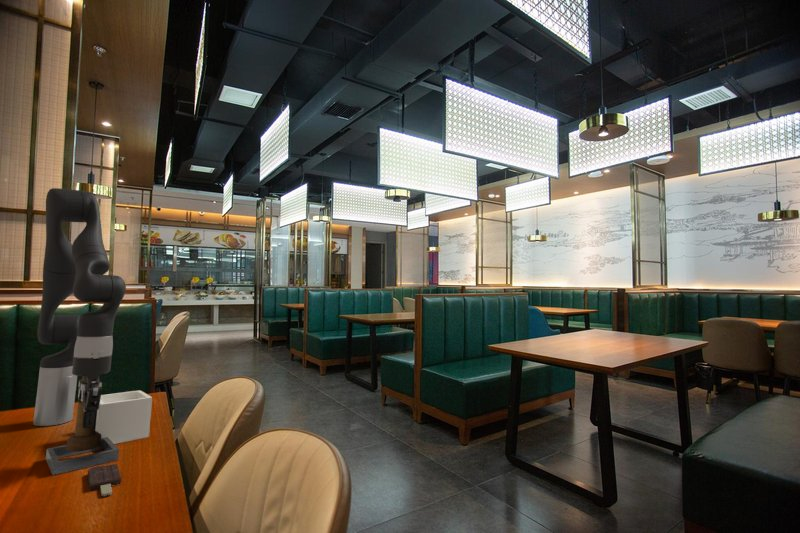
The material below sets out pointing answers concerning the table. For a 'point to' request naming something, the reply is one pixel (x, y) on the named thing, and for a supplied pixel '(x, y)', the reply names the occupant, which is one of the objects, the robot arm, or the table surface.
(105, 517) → the table surface
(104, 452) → the low collar
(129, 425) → the box
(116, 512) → the table surface
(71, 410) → the robot arm
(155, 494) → the table surface
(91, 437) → the mortar and pestle
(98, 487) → the ice cream bar
